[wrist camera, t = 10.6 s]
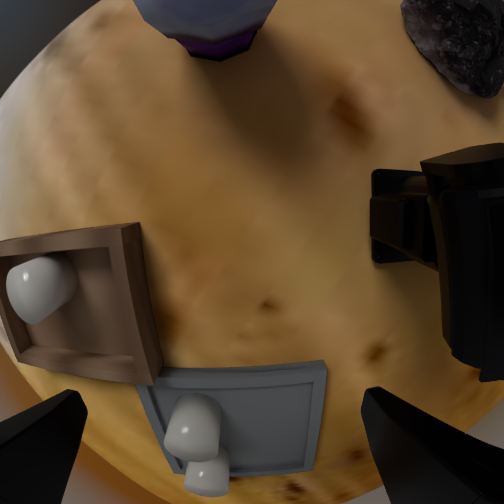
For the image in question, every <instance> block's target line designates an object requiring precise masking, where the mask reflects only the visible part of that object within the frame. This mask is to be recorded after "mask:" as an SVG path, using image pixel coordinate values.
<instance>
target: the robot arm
mask: <svg viewBox="0 0 504 504" xmlns="http://www.w3.org/2000/svg"><path fill="white" fill-rule="evenodd" d="M420 165H421V168H422V172H420V171H408V170H393V169H375V170H374V171H373V172H372V175H371V180H372V197H371V199H370V236H371V237H372V255H371V256H372V259H373V261H375V262H376V263H379V264H380V263H392V262H403V261H413V260H415V261H417V262H419V263H421V264H423V265H425V266H427V267H429V268H431V269H433V270H435V271H437V272H439V281H440V293H441V312H442V332H443V337H444V339H445V340H446V342H447V344H448V345H449V347H450V348H451V349H452V351H451V354H452V356H453V357H455V358H456V359H458V360H459V361H460V362H462V363H464V364H467V365H469V366H472V367H474V368H479V369H481V370H480V375H479V381H480V382H490V381H497V380H504V143H492V144H485V145H478V146H472V147H468V148H464V149H461V150H457V151H454V152H450V153H447V154H443V155H440V156H437V157H433V158H430V159H427V160H423V161H420ZM378 173H379V174H380V175H381V178H380V179H378V178H377V174H378ZM379 253H380V254H381V256H380V258H378V259H377V255H378V254H379ZM87 415H88V410H87V407H86V405H85V403H84V401H83V399H82V397H81V395H80V393H79V392H78V391H75V390H70V389H67V390H65V391H63V392H61V393H59V394H57V395H55V396H53V397H51V398H49V399H47V400H45V401H43V402H41V403H39V404H37V405H35V406H33V407H31V408H29V409H27V410H25V411H23V412H21V413H18V414H16V415H14V416H12V417H10V418H8V419H6V420H4V421H2V422H0V504H61V502H62V499H63V495H64V492H65V489H66V485H67V482H68V479H69V476H70V473H71V470H72V467H73V464H74V461H75V458H76V456H77V453H78V449H79V446H80V442H81V438H82V434H83V430H84V426H85V423H86V419H87ZM361 415H362V419H363V422H364V426H365V430H366V434H367V438H368V442H369V445H370V449H371V453H372V456H373V458H374V461H375V463H376V466H377V468H378V471H379V474H380V476H381V479H382V481H383V484H384V486H385V489H386V492H387V494H388V497H389V499H390V502H391V504H504V449H501V448H499V447H496V446H493V445H490V444H488V443H485V442H483V441H481V440H479V439H476V438H474V437H472V436H470V435H468V434H465V433H464V432H462V431H460V430H458V429H456V428H454V427H452V426H450V425H448V424H446V423H445V422H443V421H441V420H439V419H437V418H435V417H433V416H431V415H429V414H428V413H426V412H424V411H422V410H420V409H418V408H417V407H415V406H413V405H411V404H409V403H408V402H406V401H404V400H402V399H400V398H399V397H397V396H395V395H393V394H392V393H390V392H388V391H386V390H385V389H383V388H381V387H379V386H377V387H372V388H368V389H366V391H365V393H364V397H363V402H362V406H361Z"/></svg>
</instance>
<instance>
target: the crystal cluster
mask: <svg viewBox="0 0 504 504" xmlns="http://www.w3.org/2000/svg"><path fill="white" fill-rule="evenodd" d="M400 7H401V12H402V15H403V18H404V20H405V25H406V29H407V32H408V34H409V35H410V37H411V39H412V40H413V41H414V43H415V45H416V46H417V48H418V50H419V51H420V52H421V53H422V54H423V55H424V56H425V57H427V58H428V59H429V60H430V61H431V62H432V63H433V64H434V65H435V66H436V68H437V69H438V70H439V72H440V73H442V74H444V75H445V76H446V78H447V79H448V80H449V81H450V82H451V83H452V84H454V86H455V87H456V88H457V89H458V90H460V91H463V92H465V93H467V94H469V95H474V96H478V97H482V98H488V99H490V98H492V97H494V96H496V95H497V94H498V92H499V90H500V89H501V86H502V84H503V82H504V1H503V0H403V2H402V3H401V5H400Z"/></svg>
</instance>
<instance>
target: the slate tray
mask: <svg viewBox="0 0 504 504" xmlns="http://www.w3.org/2000/svg"><path fill="white" fill-rule="evenodd" d="M326 377H327V368H326V366H325V364H324V361H323V360H319V361H310V362H302V363H292V364H281V365H269V366H253V367H231V368H171V367H162V368H161V370H160V372H159V375H158V377H157V379H156V381H155V384H154V385H146V384H135V386H136V389H137V391H138V394H139V397H140V399H141V402H142V405H143V407H144V410H145V412H146V415H147V417H148V419H149V422H150V424H151V427H152V429H153V431H154V433H155V436H156V438H157V440H158V442H159V444H160V446H161V449H162V451H163V453H164V455H165V457H166V459H167V461H168V463H169V465H170V467H171V469H172V470H173V472H174V473H175V474H184V475H186V470H187V464H188V461H185V460H182V459H180V458H177V457H175V456H174V455H172V454H171V453H170V452H168V451H167V449H166V448H165V446H164V439H165V435H166V432H167V428H168V425H169V421H170V418H171V415H172V411H173V408H174V405H175V402H176V400H177V398H178V397H180V396H181V395H183V394H186V393H201V394H205V395H207V396H209V397H211V398H213V399H214V400H216V401H217V402H218V403H219V405H220V406H221V409H222V416H221V427H220V438H219V446H221V447H223V448H225V449H227V450H228V451H229V453H230V469H229V477H247V476H267V475H280V474H290V473H298V472H306V471H312V469H313V464H314V459H315V453H316V448H317V442H318V436H319V430H320V423H321V417H322V410H323V402H324V394H325V386H326Z"/></svg>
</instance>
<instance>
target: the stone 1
mask: <svg viewBox="0 0 504 504" xmlns="http://www.w3.org/2000/svg"><path fill="white" fill-rule="evenodd" d="M6 288H7V294H8V298H9V300H10V303H11V305H12V307H13V309H14V310H15V312H16V313H17V315H18V316H19V317H20V318H21V319H22V320H24V321H25V322H27V323H29V324H38V323H39V322H40V321H42V320H43V319H44V318H46V317H47V316H49V315H50V314H51V313H53V312H54V311H55V310H57V309H58V308H59V307H61V306H62V305H64V304H65V303H66V302H68V301H69V300H71V299H72V298H73V297H74V296H75V295H76V293H77V290H78V276H77V272H76V269H75V267H74V265H73V263H72V262H71V260H70V259H69V258H68V257H67V256H66V255H65V254H63V253H61V252H58V251H53V252H50V253H47V254H45V255H42V256H40V257H37V258H35V259H33V260H30V261H28V262H25V263H23V264H21V265H18V266H16V267H14V268H12V269H11V270H10V271H9V273H8V275H7V280H6Z"/></svg>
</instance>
